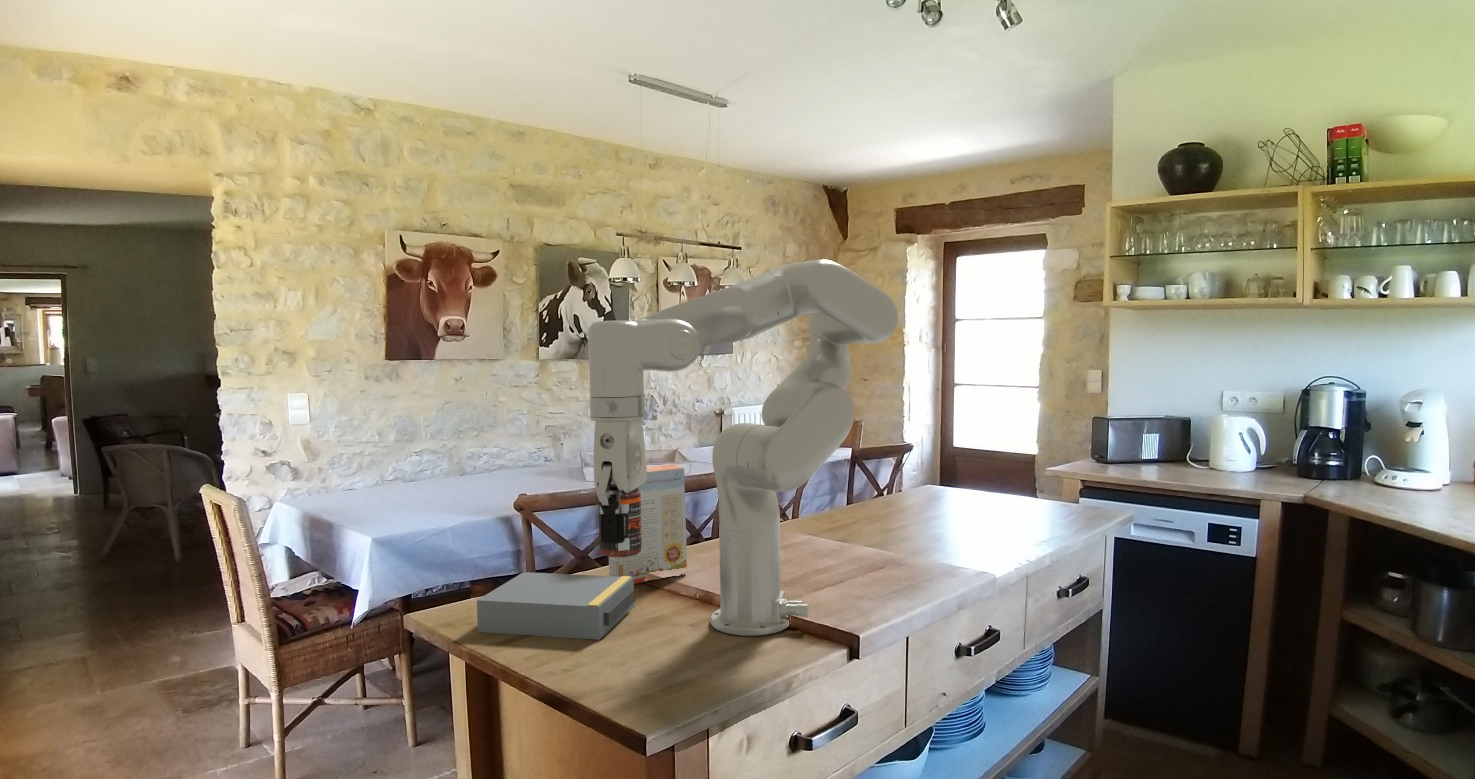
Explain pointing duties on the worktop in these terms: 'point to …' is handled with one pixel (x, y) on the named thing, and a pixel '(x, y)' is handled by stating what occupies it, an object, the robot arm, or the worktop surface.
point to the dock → (556, 605)
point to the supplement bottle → (626, 527)
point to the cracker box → (658, 526)
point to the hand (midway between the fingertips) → (620, 535)
